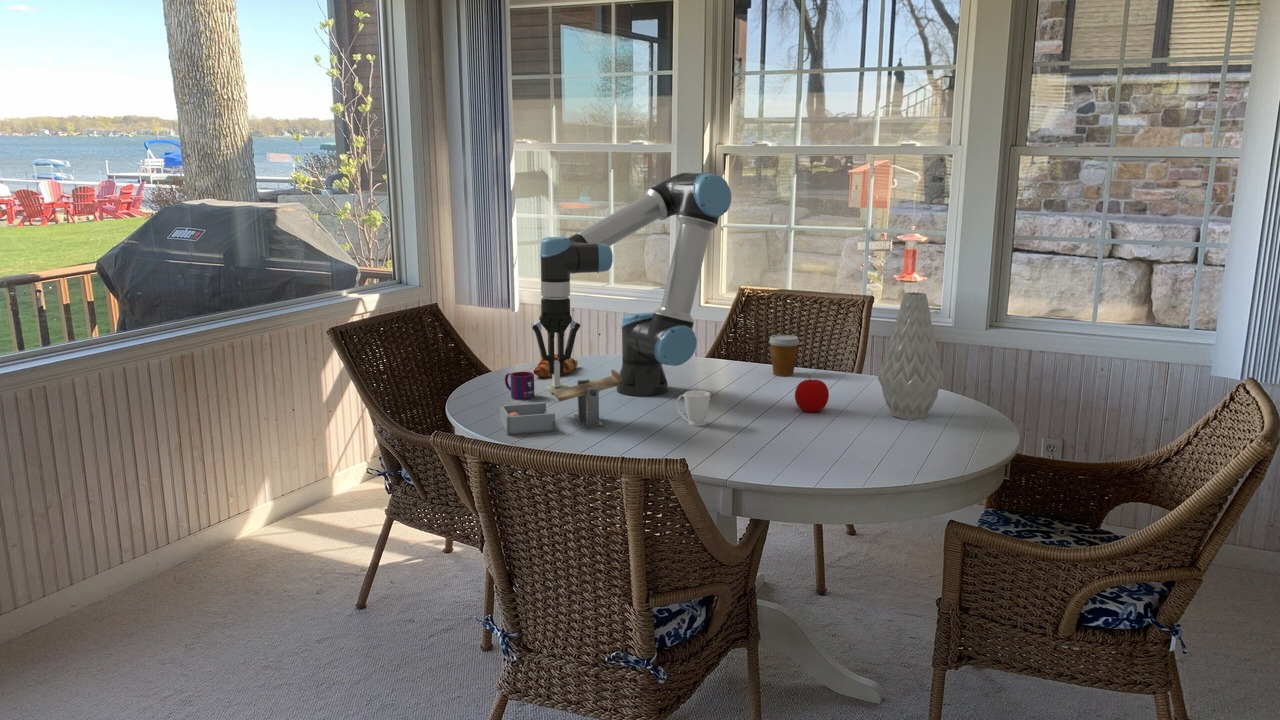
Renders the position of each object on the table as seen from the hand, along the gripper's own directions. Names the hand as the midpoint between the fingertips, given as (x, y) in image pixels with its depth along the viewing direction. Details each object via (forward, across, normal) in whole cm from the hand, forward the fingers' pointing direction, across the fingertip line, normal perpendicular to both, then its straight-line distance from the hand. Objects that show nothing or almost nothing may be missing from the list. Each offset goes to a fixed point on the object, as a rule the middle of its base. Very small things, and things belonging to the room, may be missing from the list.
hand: (556, 385), depth 252 cm
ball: (+6, +13, +8) cm, 16 cm away
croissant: (+9, -11, -52) cm, 54 cm away
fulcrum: (+8, -7, +8) cm, 13 cm away
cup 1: (+9, +6, -26) cm, 28 cm away
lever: (0, -7, +4) cm, 8 cm away
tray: (+9, +9, +8) cm, 15 cm away
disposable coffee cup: (+8, -79, -29) cm, 85 cm away
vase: (+7, -89, +27) cm, 94 cm away
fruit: (+8, -67, +14) cm, 69 cm away
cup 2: (+8, -32, +16) cm, 37 cm away
